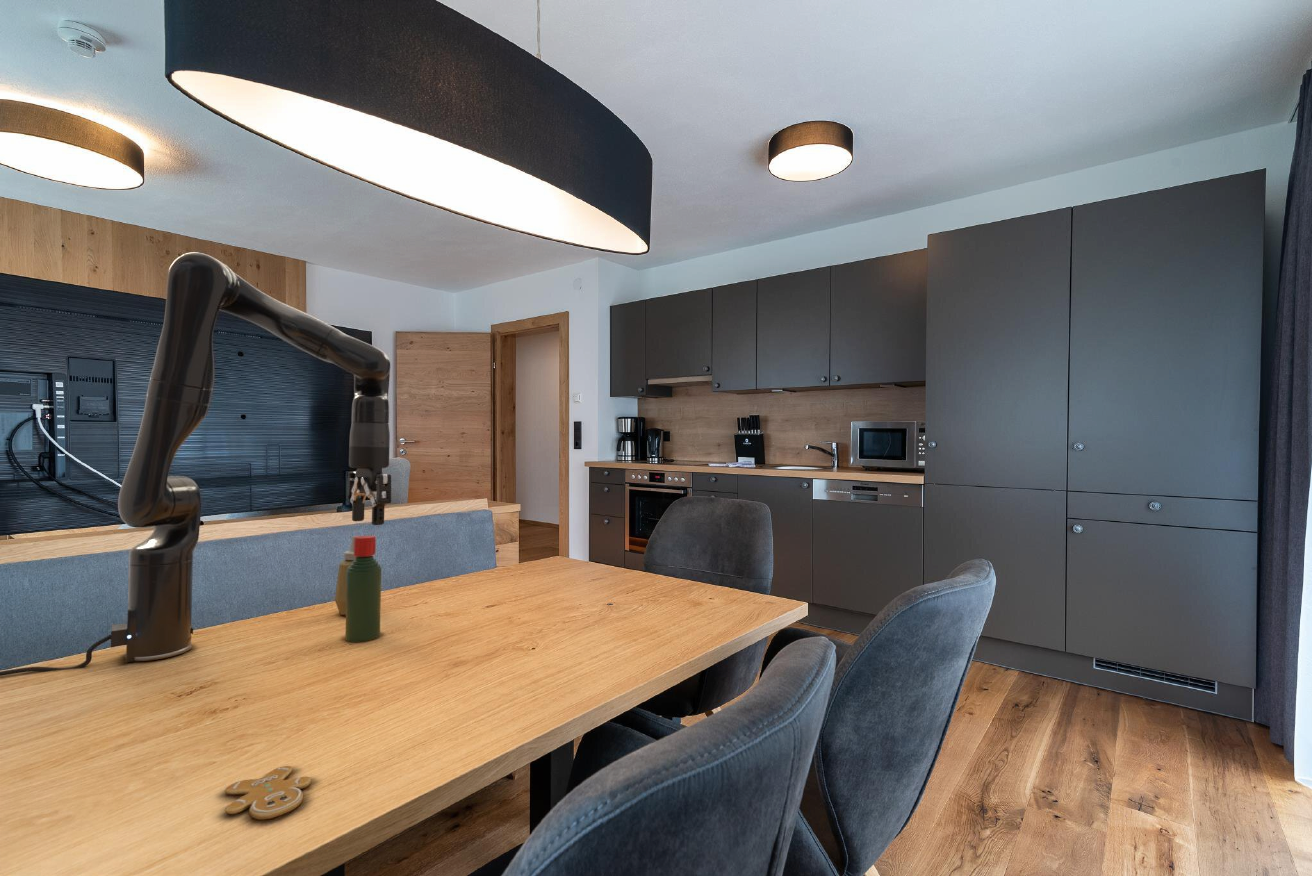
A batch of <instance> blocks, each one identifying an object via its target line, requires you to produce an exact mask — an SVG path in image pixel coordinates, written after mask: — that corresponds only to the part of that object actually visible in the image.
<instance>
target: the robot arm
mask: <svg viewBox="0 0 1312 876" xmlns="http://www.w3.org/2000/svg"><path fill="white" fill-rule="evenodd" d="M164 310H165V311H164V319H163V326H162V329H161V334H160V337H159V340H158V344H157V348H156V352H155V357H154V361H153V365H152V370H151V373H150V378H149V381H148V385H147V391H146V395H145V402H144V407H143V413H142V417H141V422H140V425H139V430H138V433H137V438H136V440H135V441H136V442H135V445H134V449H133V452H132V455H131V458H130V460H129V462H128V466H127V469H126V471H125V474H124V477H123V480H122V482H121V486H120V489H119V494H118V501H117V509H118V514H119V516H120V519H121V520H122V522H123V523H124V524H126V526H128V527H131V528H136V529H142V528H152V527H154V528H153V532H152V533H151V534H150V535H149V537H147V538H146V539H145V540H143V541H142V542H140V543H138V544H136V545H135V546H133V547H132V548H131V549H130V551H129V553H128V586H127V587H128V589H127V590H128V591H127V613H126V615H127V616H126V622H124V623H117V624H111V629H110V634H109V635H107V636H105V637H103V638H101V639H100V640H98V641H96V642H94V643H93V644H91V646H89V647H88V649H87V651H86V654H85V660H84V661H83V662H81V663H79V664H78V665H74V666H71V667H50V666H29V667H28V666H27V667H21V668H14V669H6V670H1V671H0V677H2V676H9V675H14V674H23V673H29V672H54V671H62V670H74V669H81V668H85V667H87V666H88V665H89V664H91V661H92V660H93V659H92V658H93V651H94V650H95V649H96V648H97V647H99V646H100V645H103V644H104V643H106V642H108V641H109V640H110V648H115V647H122V646H125V647H126V648H125V649H126V651H125V663H134V662H150V661H157V660H163V659H167V658H171V657H175V656H179V655H182V654H185V653H186V652H188V651H190V650H191V649H192V635H194V628H193V627H192V619H193V618H192V615H193V583H194V582H193V579H194V578H193V577H194V551H195V549H196V548H197V545H198V543H199V538H200V528H201V516H202V494H201V490H200V487H199V486H198V484H197V482H196V481H195V480H193V479H192V478H190V477H189V476H185V475H169V474H170V471H171V467H172V464H173V461H174V458H175V456H176V454H177V453H178V451H179V449H180V448H181V446H182V445H183V444H184V443H185V442H186V441H187V440H188V438H189V437H190V436H191V435H192V434H193V433H194V432H195V430H196V429H197V428H198V427H200V425H201V423H202V422H203V421H204V420H205V417H206V416H207V414H208V412H209V408H210V406H211V400H212V395H213V391H214V387H215V386H214V385H215V377H216V375H215V370H216V369H215V356H214V355H215V354H214V345H213V339H214V338H213V337H214V330H215V325H216V322H217V318H218V315H219V311H220V312H224V313H227V314H229V315H233V316H235V317H238V318H240V319H242V320H245V321H248V322H249V323H252V324H254V325H256V326H258V327H260V328H262V329H264V330H265V331H268V332H269V333H271V334H272V335H274V336H275V337H277V338H279V339H281V340H282V341H284V342H286V343H287V344H289V345H291V346H293V347H294V348H296V349H299V350H301V351H303V352H304V353H307V354H309V355H310V356H312V357H314V358H317V359H319V360H321V361H323V362H326V363H328V364H334V365H336V366H337V367H339V368H340V369H343V370H344V371H346V372H348V373H351V374H352V375H353V399H352V404H351V418H350V419H351V420H350V421H351V423H350V425H351V426H350V429H349V447H348V448H349V449H348V466H349V468H352V469H355V471H348V472H347V479H346V480H347V483H346V500H349V502H350V503H351V504H352V505H351V507H352V508H351V520H352V521H353V522H362V521H364V520H365V504H366V503H365V501H366V498H367V499H369V500H370V502H371V505H372V506H371V525H373V526H381V525H382V526H383V525H384V524H385V507H387V505H388V504H391V503H392V474H391V473H383V469H386V468H389V466H390V447H391V446H390V443H391V432H390V424H389V423H390V401H389V389H390V379H391V360H390V358H389V356H388V355H387V354H386V353H385V352H384V351H382V349H380V348H378V347H376V346H374V345H373V344H370V343H367V342H365V341H363V340H360V339H358V338H356V337H353V336H351V335H348V334H346V333H344V332H343V331H341V330H339V329H338V328H335V327H334V326H332V325H330V324H329V323H326V322H325V321H323V320H321V319H318V318H317V317H315V316H312V315H311V314H309V313H307V312H304V311H302V310H299V309H297V308H295V307H293V306H291V305H288V304H286V303H284V302H282V301H279V300H277V299H275V298H274V297H272V296H270V295H268V294H266V293H264V292H263V291H262V290H260V289H258V288H256V286H254V285H252V284H251V283H250V282H248V281H246V280H245V279H244V278H242V277H241V276H240V275H238V274H237V273H235V272H234V271H233V270H232V269H231V268H230V267H229V266H228V265H227V264H226V263H224V262H222V261H221V260H218V259H217V258H215V257H214V256H211V255H209V254H206V253H202V252H198V251H197V252H196V251H195V252H187V253H184V254H182V255H180V256H178V257H177V258H176V259H175V260H174V261H173V262H172V263H171V265H170V267H169V269H168V273H167V281H166V297H165V309H164Z"/></svg>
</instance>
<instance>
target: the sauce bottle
mask: <svg viewBox="0 0 1312 876" xmlns="http://www.w3.org/2000/svg"><path fill="white" fill-rule="evenodd" d="M381 597H382V567H381V564H380V563H379V561H377V559H376V558H374V555H372V556H364V557H356V558H355V560H353V563H351V566H349V567H348V570H347V583H346V615H345V628H344V629H345V630H344V631H345V635H344V636H345V639H344V640H345V641H347V642H351V643H361V642H362V643H363V642H368V641H373V640H375V639H377V638H379V637H380V636H381V608H382V607H381V606H382V605H381V604H382V603H381V602H382V598H381Z"/></svg>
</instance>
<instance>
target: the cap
mask: <svg viewBox="0 0 1312 876" xmlns="http://www.w3.org/2000/svg"><path fill="white" fill-rule="evenodd" d="M356 536H357V537H354V556H358V557H364V556H375V555H376V544H377V543H376V541H377V539H376V535H356Z"/></svg>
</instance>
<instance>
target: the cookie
mask: <svg viewBox="0 0 1312 876" xmlns="http://www.w3.org/2000/svg"><path fill="white" fill-rule="evenodd" d="M293 770H294V766H291V765H286V766H285V765H284V766H279V767H277V768H274V769H273V770H271V771H269V772H268V773H266V774H265V775H264V776H262V777H260V778H252V779H251V778H250V779H243V780H238V781H235V782H233V783H232V784H230V785H228V786H227V787H225V789H224V793H225V794H227V795H243V796H240V797H239V798H237V799H235V800H234V801H232V802H231V803H229V804H228V805H227V806H226V807H225V808H224V811H225V813H226V814H228V815H235V814H238V813H241V812H243V811H244V810H246V809H248V808H249V810H248V813H249V816H250V817H252V818H253V819H255V820H269V819H273V818H277V817H280V816H282V815H284V814H288V813H289V812H291V811H293V810H295V809H296V808H297V807H299V806H300V805H301V803H302V802H303V799H304V793H303V791H302V790H301V789H305V788H307V787H308V786H309V785H310V784H312V777H310V776H299V777H294V778H289V779H286V778H287V777H288V776H289V775H290V774H291V773H292V772H293Z"/></svg>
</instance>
